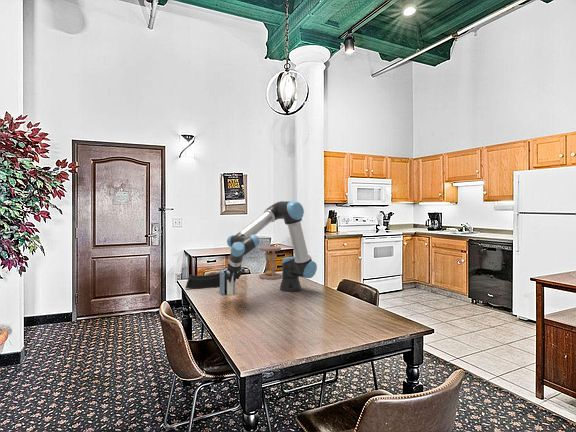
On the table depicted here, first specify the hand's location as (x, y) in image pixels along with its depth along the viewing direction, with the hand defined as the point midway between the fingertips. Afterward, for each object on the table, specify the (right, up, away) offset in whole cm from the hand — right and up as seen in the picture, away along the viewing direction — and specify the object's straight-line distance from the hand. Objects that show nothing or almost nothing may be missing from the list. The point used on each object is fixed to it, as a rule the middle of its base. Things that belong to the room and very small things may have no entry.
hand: (231, 284), depth 232 cm
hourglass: (+21, -8, +69) cm, 73 cm away
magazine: (-22, -9, +32) cm, 39 cm away
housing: (-5, -9, +18) cm, 21 cm away
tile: (-4, -9, +17) cm, 20 cm away
